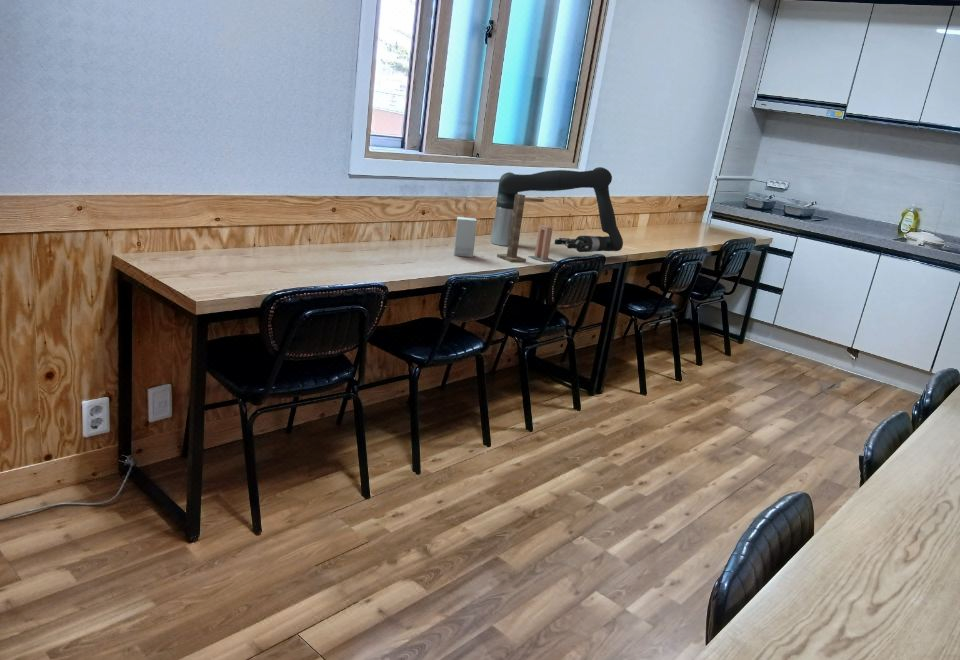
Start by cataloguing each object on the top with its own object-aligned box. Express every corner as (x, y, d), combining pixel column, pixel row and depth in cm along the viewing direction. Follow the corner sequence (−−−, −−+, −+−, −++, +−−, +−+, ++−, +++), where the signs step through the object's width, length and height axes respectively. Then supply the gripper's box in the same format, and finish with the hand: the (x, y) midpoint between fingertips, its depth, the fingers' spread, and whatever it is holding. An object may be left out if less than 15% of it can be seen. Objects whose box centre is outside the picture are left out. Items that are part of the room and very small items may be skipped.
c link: (534, 256, 328) (539, 225, 324) (539, 256, 330) (544, 225, 326) (542, 259, 324) (547, 227, 320) (547, 259, 326) (552, 227, 322)
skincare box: (472, 254, 315) (477, 218, 311) (473, 257, 309) (477, 220, 305) (453, 252, 315) (457, 216, 310) (453, 255, 308) (457, 218, 304)
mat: (528, 256, 327) (528, 256, 327) (541, 256, 332) (541, 255, 332) (543, 262, 320) (543, 261, 320) (556, 261, 325) (556, 260, 325)
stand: (496, 256, 318) (505, 192, 310) (526, 256, 328) (535, 193, 321) (511, 262, 310) (520, 196, 303) (541, 261, 321) (551, 197, 313)
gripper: (577, 232, 346) (552, 232, 336) (599, 238, 335) (573, 238, 325) (575, 248, 348) (549, 248, 338) (597, 255, 337) (571, 255, 327)
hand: (561, 243), depth 332 cm, fingers open, 8 cm apart
